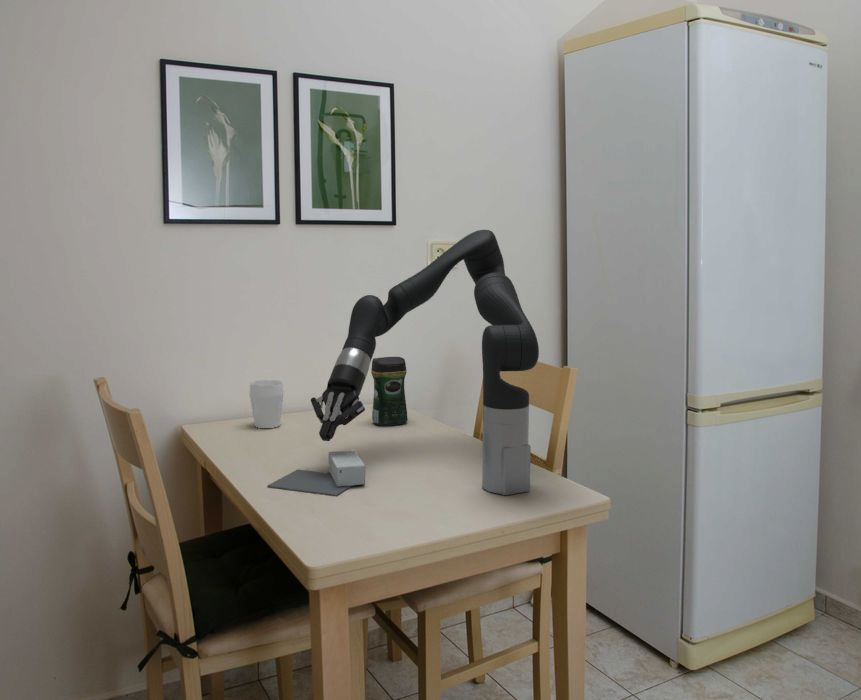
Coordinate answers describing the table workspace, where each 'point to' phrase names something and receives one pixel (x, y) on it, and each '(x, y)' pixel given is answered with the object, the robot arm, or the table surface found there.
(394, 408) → the coffee jar
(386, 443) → the table surface
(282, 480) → the mat
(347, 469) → the skincare box
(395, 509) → the table surface
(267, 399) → the cup
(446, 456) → the table surface
